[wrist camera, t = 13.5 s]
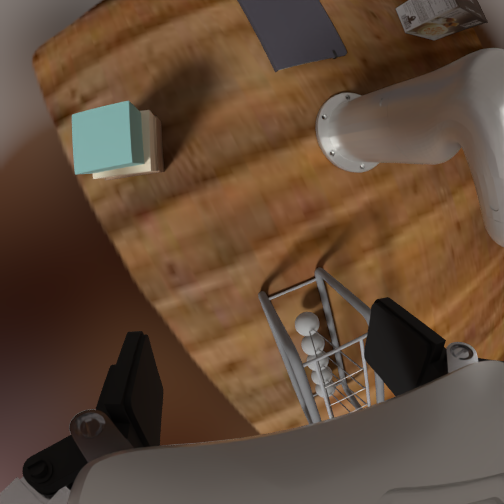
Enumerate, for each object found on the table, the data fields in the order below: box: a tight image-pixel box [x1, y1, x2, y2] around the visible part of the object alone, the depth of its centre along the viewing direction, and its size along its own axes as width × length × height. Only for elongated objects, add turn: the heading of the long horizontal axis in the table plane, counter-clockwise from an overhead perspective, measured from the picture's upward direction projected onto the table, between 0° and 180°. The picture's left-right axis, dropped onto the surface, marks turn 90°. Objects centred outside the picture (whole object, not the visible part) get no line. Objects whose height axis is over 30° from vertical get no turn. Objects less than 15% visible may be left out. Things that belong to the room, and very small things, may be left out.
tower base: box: [105, 115, 164, 180], centre depth 33 cm, size 7×7×5 cm
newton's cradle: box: [258, 267, 384, 424], centre depth 40 cm, size 30×10×18 cm, turn 19°
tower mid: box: [93, 110, 158, 179], centre depth 28 cm, size 6×6×5 cm
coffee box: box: [396, 0, 487, 40], centre depth 27 cm, size 9×6×16 cm
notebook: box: [237, 0, 347, 72], centre depth 32 cm, size 13×2×21 cm
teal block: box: [72, 101, 144, 174], centre depth 23 cm, size 6×6×6 cm
